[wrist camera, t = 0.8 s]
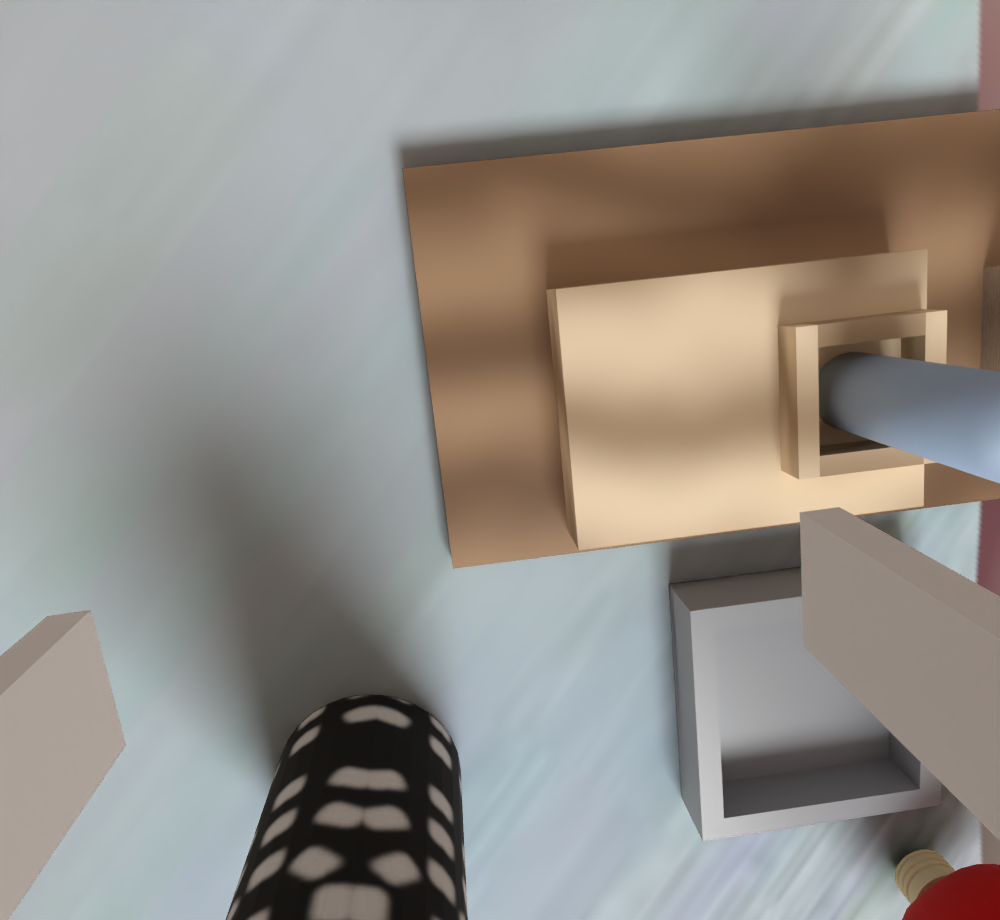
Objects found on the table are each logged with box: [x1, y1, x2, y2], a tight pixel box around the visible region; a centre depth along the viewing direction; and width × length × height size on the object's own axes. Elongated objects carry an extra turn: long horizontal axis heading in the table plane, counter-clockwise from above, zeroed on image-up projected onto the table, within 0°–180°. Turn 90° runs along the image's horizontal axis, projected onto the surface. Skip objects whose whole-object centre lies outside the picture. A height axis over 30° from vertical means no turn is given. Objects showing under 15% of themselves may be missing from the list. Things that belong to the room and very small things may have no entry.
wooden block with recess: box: [546, 249, 947, 550], centre depth 30 cm, size 10×14×4 cm
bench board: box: [402, 109, 1000, 568], centre depth 32 cm, size 16×26×1 cm, turn 96°
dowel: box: [818, 352, 1000, 483], centre depth 25 cm, size 3×3×9 cm
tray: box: [669, 567, 942, 841], centre depth 35 cm, size 11×11×3 cm
